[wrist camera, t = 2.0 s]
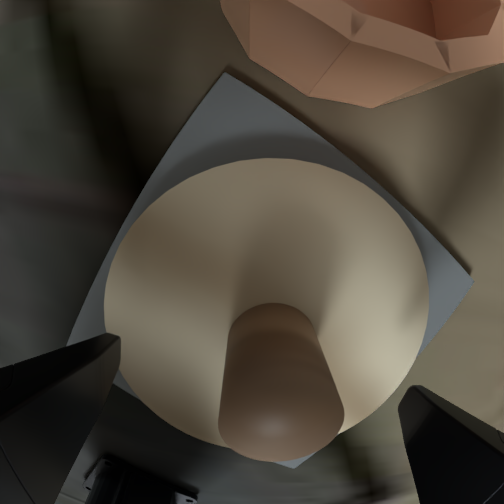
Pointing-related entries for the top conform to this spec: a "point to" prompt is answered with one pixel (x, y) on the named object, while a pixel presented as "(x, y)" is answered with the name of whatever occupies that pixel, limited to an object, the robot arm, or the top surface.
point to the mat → (256, 147)
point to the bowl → (369, 44)
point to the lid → (267, 305)
